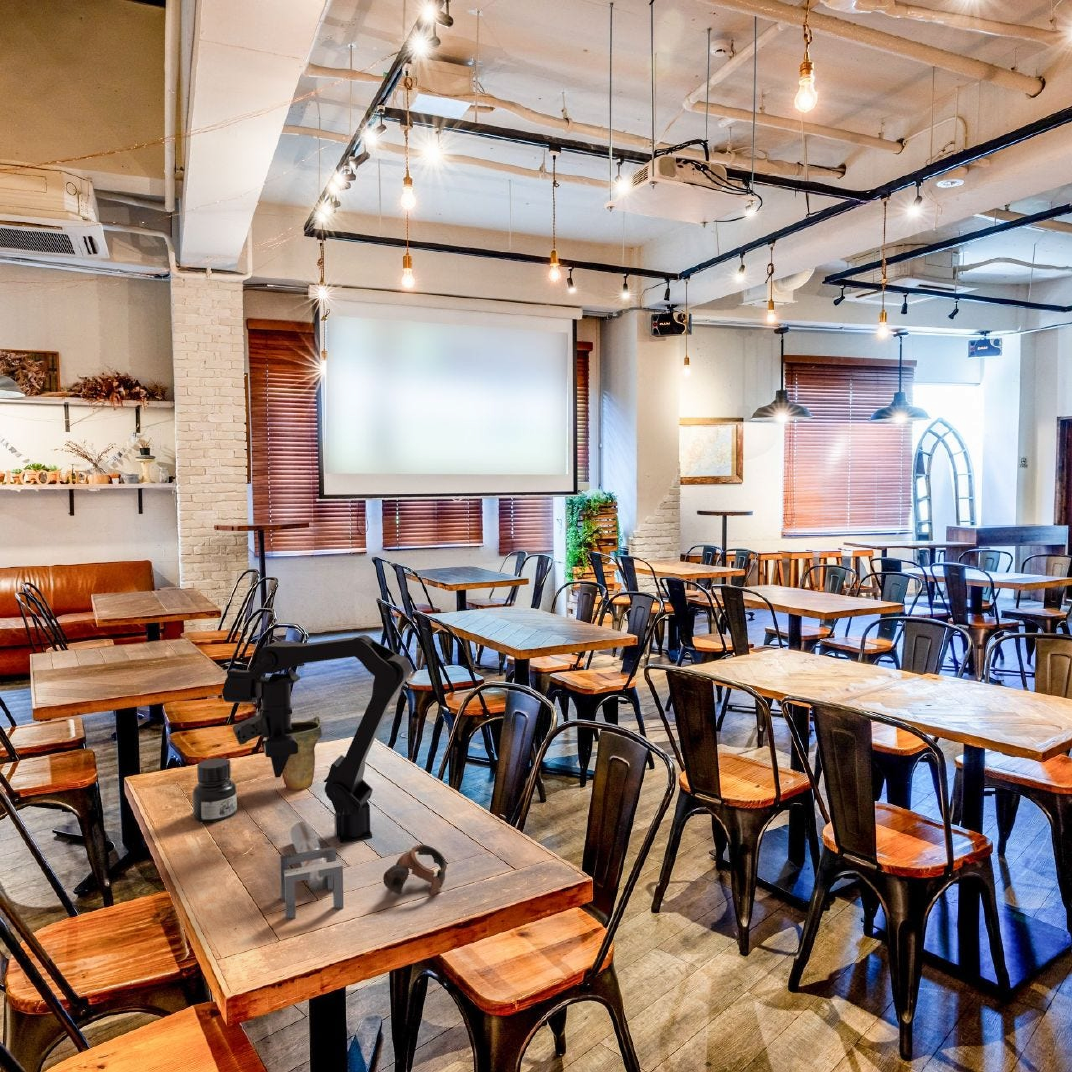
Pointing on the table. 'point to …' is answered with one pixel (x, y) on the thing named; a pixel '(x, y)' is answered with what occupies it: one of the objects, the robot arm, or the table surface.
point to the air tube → (305, 842)
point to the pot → (302, 755)
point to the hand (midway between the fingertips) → (277, 777)
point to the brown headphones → (416, 870)
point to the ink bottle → (214, 792)
